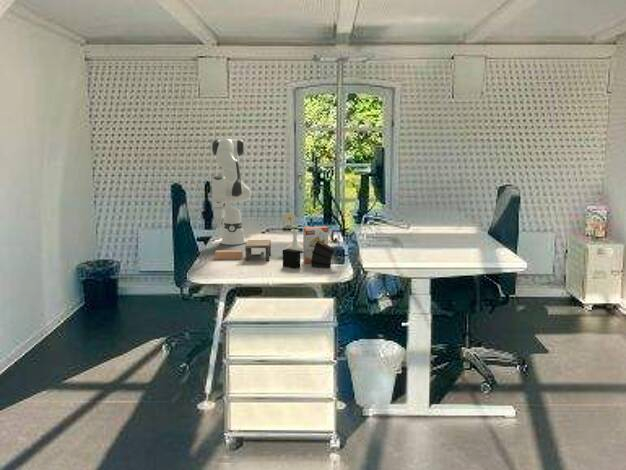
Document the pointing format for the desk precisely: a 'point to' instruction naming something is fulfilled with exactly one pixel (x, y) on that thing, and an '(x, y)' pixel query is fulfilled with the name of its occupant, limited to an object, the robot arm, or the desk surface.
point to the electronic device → (291, 258)
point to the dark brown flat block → (322, 255)
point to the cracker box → (313, 240)
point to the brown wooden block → (228, 254)
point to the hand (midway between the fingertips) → (220, 225)
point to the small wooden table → (258, 244)
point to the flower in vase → (294, 245)
